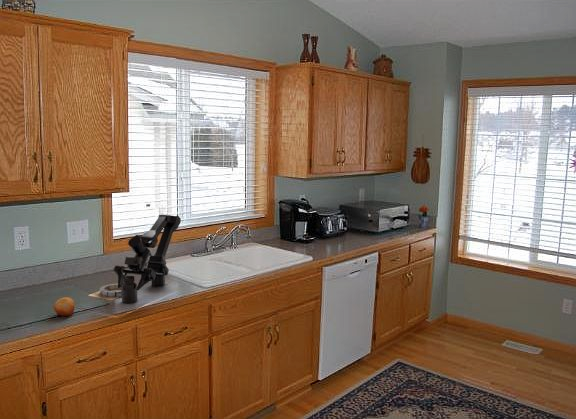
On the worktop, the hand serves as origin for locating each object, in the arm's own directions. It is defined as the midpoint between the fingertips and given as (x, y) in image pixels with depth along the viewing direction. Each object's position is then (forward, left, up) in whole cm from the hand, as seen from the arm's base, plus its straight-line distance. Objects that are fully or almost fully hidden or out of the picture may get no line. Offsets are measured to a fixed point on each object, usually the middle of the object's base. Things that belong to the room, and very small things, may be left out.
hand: (127, 288), depth 225 cm
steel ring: (-7, -14, -6) cm, 17 cm away
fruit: (+23, -13, -7) cm, 27 cm away
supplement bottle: (-1, 0, -7) cm, 7 cm away
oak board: (-7, -15, -7) cm, 18 cm away
